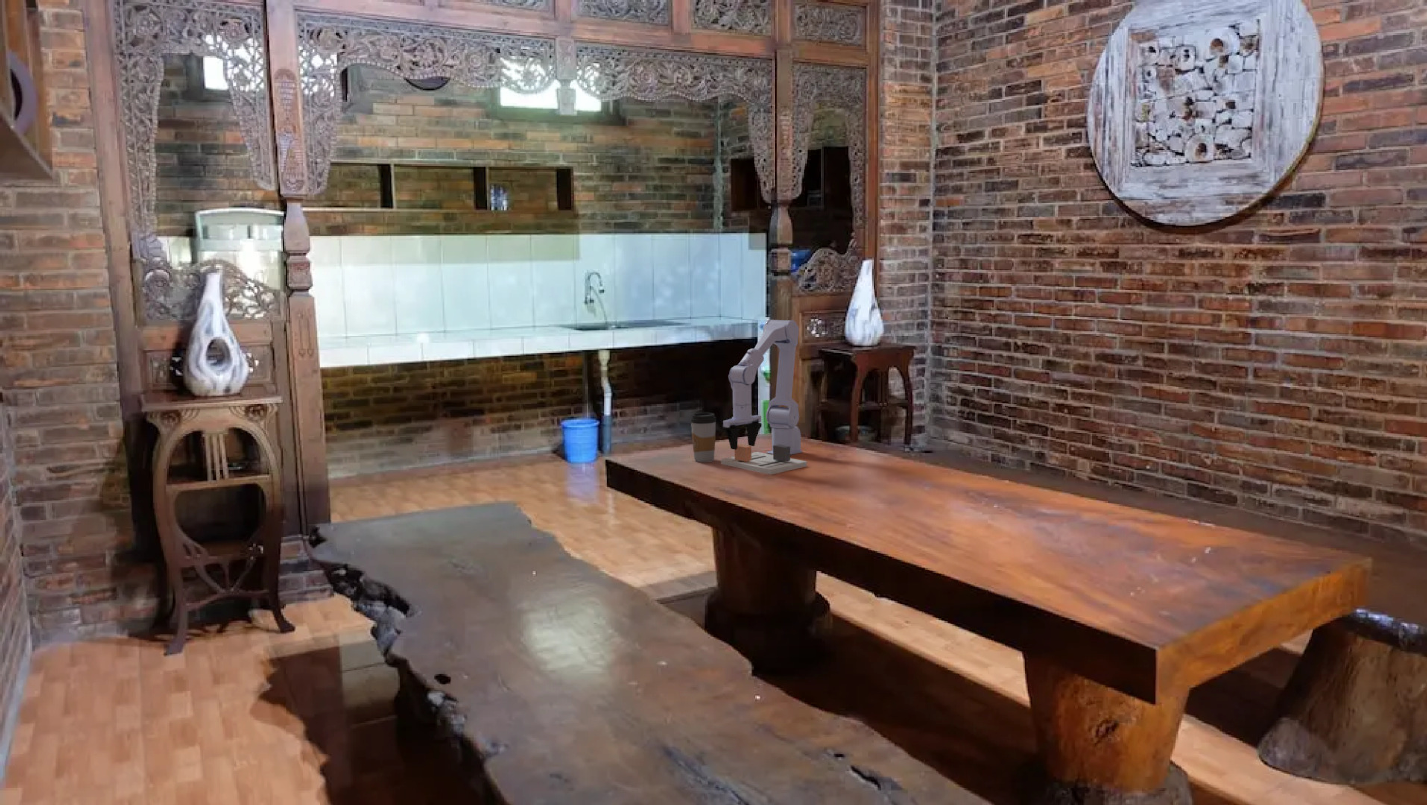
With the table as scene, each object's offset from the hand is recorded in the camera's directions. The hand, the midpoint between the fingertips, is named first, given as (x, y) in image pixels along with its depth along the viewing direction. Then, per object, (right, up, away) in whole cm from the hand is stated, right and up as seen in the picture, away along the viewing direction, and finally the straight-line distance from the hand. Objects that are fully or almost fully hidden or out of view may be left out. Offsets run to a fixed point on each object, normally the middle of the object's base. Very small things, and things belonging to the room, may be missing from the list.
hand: (742, 447), depth 308 cm
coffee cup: (-12, -5, +10) cm, 16 cm away
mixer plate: (+7, -6, +1) cm, 9 cm away
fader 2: (+12, -4, -1) cm, 13 cm away
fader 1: (0, -4, +1) cm, 4 cm away
